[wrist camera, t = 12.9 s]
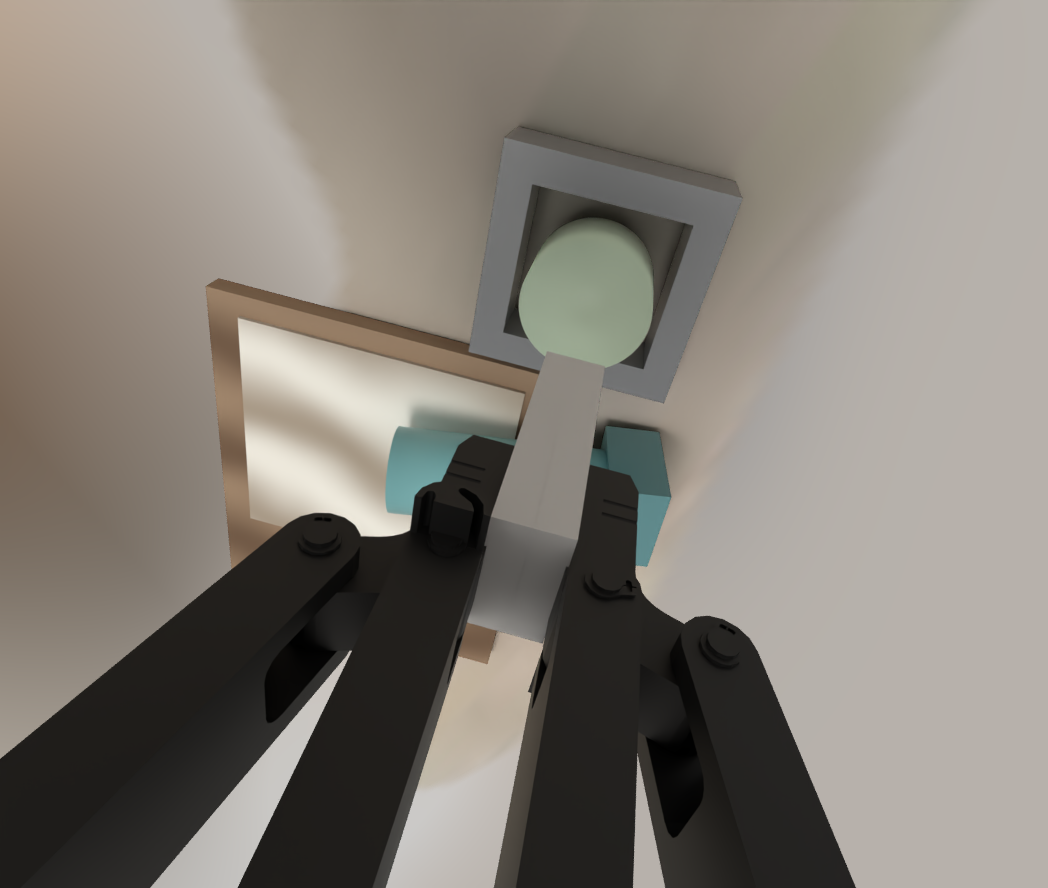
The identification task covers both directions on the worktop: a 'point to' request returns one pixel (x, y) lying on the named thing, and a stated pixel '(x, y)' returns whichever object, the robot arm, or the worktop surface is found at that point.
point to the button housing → (621, 184)
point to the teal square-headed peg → (431, 451)
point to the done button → (589, 292)
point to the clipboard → (338, 412)
